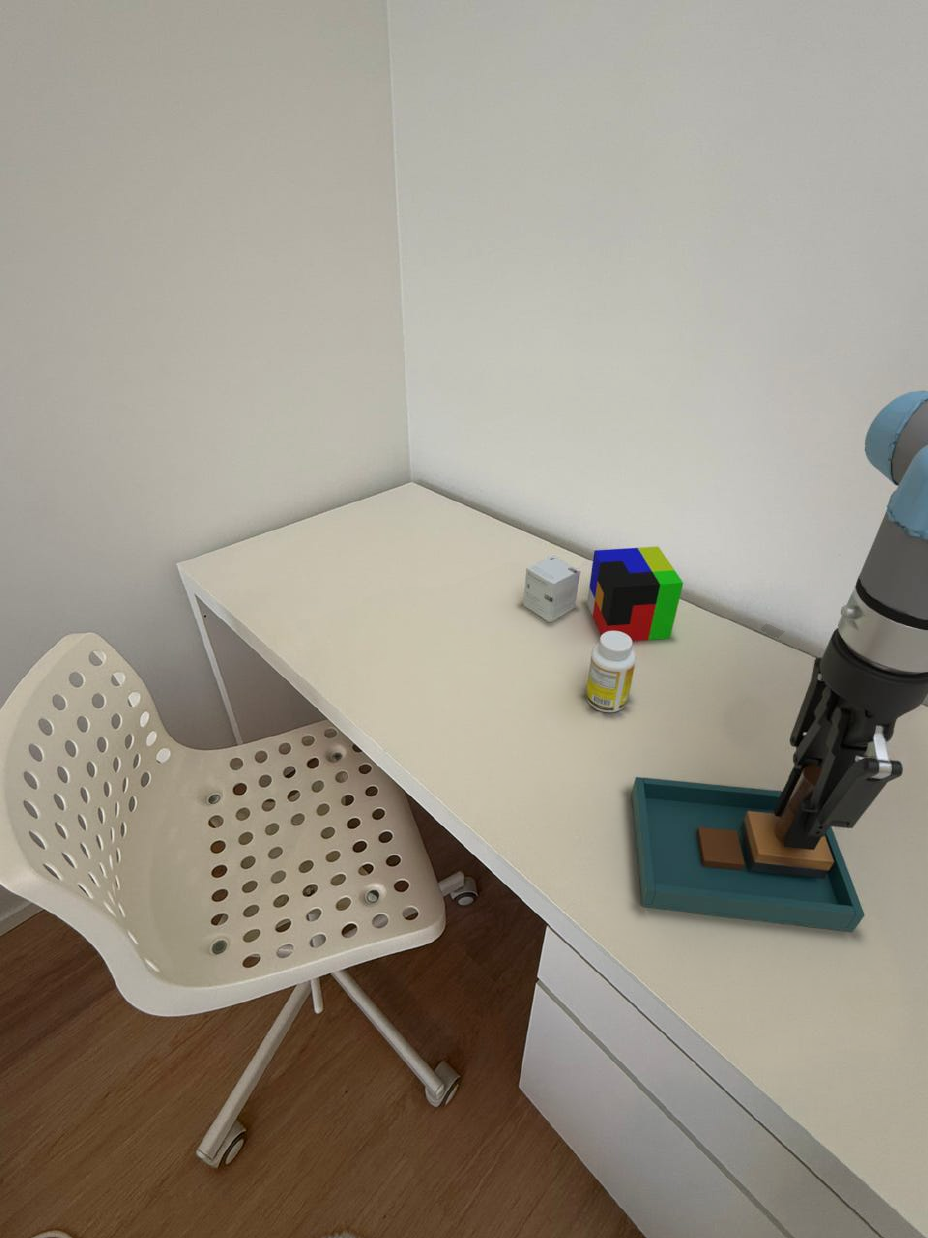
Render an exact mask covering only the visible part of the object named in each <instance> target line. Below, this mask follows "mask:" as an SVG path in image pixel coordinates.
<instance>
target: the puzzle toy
mask: <svg viewBox="0 0 928 1238" xmlns="http://www.w3.org/2000/svg"><path fill="white" fill-rule="evenodd" d="M683 586H684V582H683V580H682V579H681V577H680V575H679V574H678V573H677V571H676V570H675V568H674V567H673V566H672V564H671V563H670V561H669V560H668V558H667V557H666V555H665V554H664V553H663V551H662V550H661V548H660V546H645V547H644V546H643V547H641V546H640V547H626V548H611V549H595V550H593V557H592V564H591V571H590V581H589V586H588V594H587V600H586V605H587V608H588V610H589V612H590V614H591V616H592V619H593V621H594V623H595V625H596V628H597V630H598V632H599V634H600V637H601V636H602V634H604V633H605V632H608V631H620V632H623V633H625V634H627V635H628V636H629V637H630V638H631V639H632V642H642V641H643V642H644V641H654V640H655V641H656V640H668V639H669V640H670V639H671V635H672V631H673V627H674V624H675V619H676V614H677V612H678V611H677V610H678V608H679V607H678V606H679V603H680V599H681V594H682V590H683Z"/></svg>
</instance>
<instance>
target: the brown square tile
mask: <svg viewBox="0 0 928 1238" xmlns="http://www.w3.org/2000/svg"><path fill="white" fill-rule="evenodd" d="M696 837H697V842H698V848H699V853H700V859H701V865H702V867H710V868H719V869H728V870H737V871H742V870H743V868H744V866H745V863H744V859H743V854H742V850H741V846H740V842H739V838H738V833H737V831H734V830H724V829H715V828H706V827H698V829H697V832H696Z"/></svg>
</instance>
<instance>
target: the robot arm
mask: <svg viewBox="0 0 928 1238" xmlns="http://www.w3.org/2000/svg"><path fill="white" fill-rule="evenodd" d="M864 452H865V457H866V458H867V460H868V462H869V463H870V465H871V466H873V467H874V469H876V470H877V471H878V472H879V473H880V474H882V475H883V476H884V477H885V478H887V479H888V480H889V481H890V482H891V483H892V484H893V485H895V486H897V488H896V489H895V490H894V491H893V492H892V494H891V496H890V497H889V499H888V503H887V505H886V511H885V513H884V516H883V518H882V521H881V522H880V525H879V528H878V530H877V532H876V535H875V537H874V539H873V542H872V544H871V547H870V549H869V551H868V554H867V557H866V559H865V561H864V563H863V566H862V568H861V571H860V573H859V575H858V577H857V580H856V583H855V585H854V588H853V590H852V592H851V594H850V596H849V598H848V600H847V603H846V604H845V605H843V606H842V607H841V608H840V615H841V616H840V618H839V621H838V624H837V628H835V630H834V631H833V632H832V635H831V637H830V639H829V641H828V644H827V645H826V647H825V650H824V652H823V655H822V656H821V657H815V659H814V662H813V666H812V673H811V678H810V682H809V685H808V687H807V690H806V693H805V695H804V698H803V700H802V704H801V706H800V710H799V712H798V715H797V717H796V719H795V723H794V725H793V728H792V731H791V733H790V735H789V736H790V737H789V745H790V746H791V747H792V748H793V747H795V751H794V753H793V755H792V762H793V767H792V769H791V771H790V773H789V775H788V778H787V780H786V783H785V784H784V787H783V789H782V790H781V791H782V793H781V795H780V797H779V799H778V802H777V804H776V806H775V808H774V813H775V816H777V817H781V815H782V813H783V811H784V808H785V806H786V804H787V802H788V800H789V798H790V796H791V794H792V792H793V790H794V788H795V786H796V784H797V782H798V780H799V778H800V776H801V774H802V772H803V770H804V768H805V767H807V766H809V765H817V766H821V767H823V768H822V771H821V773H820V776H819V779H818V781H817V784H816V786H815V789H814V792H813V794H812V797H811V799H809V798H804V799H803V800H801V805H800V807H799V809H798V811H797V813H796V815H795V817H794V819H793V821H792V823H791V824H790V826H789V828H788V830H787V832H786V834H785V836H784V838H783V843H784V847H790V848H799V849H808V850H814V849H815V847H816V846H817V844H818V842H819V840H820V839H821V837H823V836H825V834H826V832H827V831H828V829H829V827H830V826H831V827H835V828H844V829H845V828H847V829H853V828H854V827H855V825H856V824H857V823H858V821H859V820H860V819H861V817H862V816H863V815H864V814H865V812H866V811H867V810H868V808H869V807H870V806H871V805H872V804H873V802H874V801H875V799H877V797H878V796H879V794H880V793H881V792H882V790H883V789H884V788H885V786H886V785H887V784H888V783H889V782H891V781H893V780H896V779H898V778H900V777H901V776H902V775H903V771H904V770H903V768H904V767H903V764H902V762H901V761H899V760H893V759H891V758H890V754H889V749H888V748H889V747H888V744H887V743H888V742H889V741H890V740H891V739H892V738H893V736H894V731H895V726H896V723H897V720H898V719H899V718H900V717H902V716H903V715H905V714H908V713H909V712H912V711H915V709H917V708H918V707H920V706H921V705H923V703H924V701H925V699H926V698H927V696H928V390H915V391H909V392H905V393H904V394H901V395H899V396H897V397H895V398H894V399H892V400H891V401H890V402H888V403H887V404H886V405H885V406H884V407H883V408H882V409H880V411H879V412H878V413H877V414H876V416H875V417H874V418H873V420H872V422H871V423H870V425H869V427H868V429H867V432H866V435H865V439H864ZM804 733H805V734H804Z"/></svg>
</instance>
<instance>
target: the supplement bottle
mask: <svg viewBox="0 0 928 1238" xmlns="http://www.w3.org/2000/svg"><path fill="white" fill-rule="evenodd" d="M590 654H591V655H590V661H589V669H588V674H587V675H588V676H587V681H586V682H587V683H586V689H585V697H586V700H587V702H588V704H589V705H590V706H591V707H592V708H594V709H595V710H598V711H600V712H604V713H615V712H619V711H621V710H623V709H624V708H625V707H626V706H627V704H628V702H629V697H630V692H631V687H632V682H633V677H634V673H635V668H636V662H637V656H636V655H637V654H636V652H635V650H634V649H633V641H632V639H631V638H630V637H629V636H628V635H627V634H625V633H623V632H620V631H608V632H605V633H604V634H602V636H601V635H600V638H599V642H598V643H597V644H595V646H593V648H592V650H591V653H590Z"/></svg>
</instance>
